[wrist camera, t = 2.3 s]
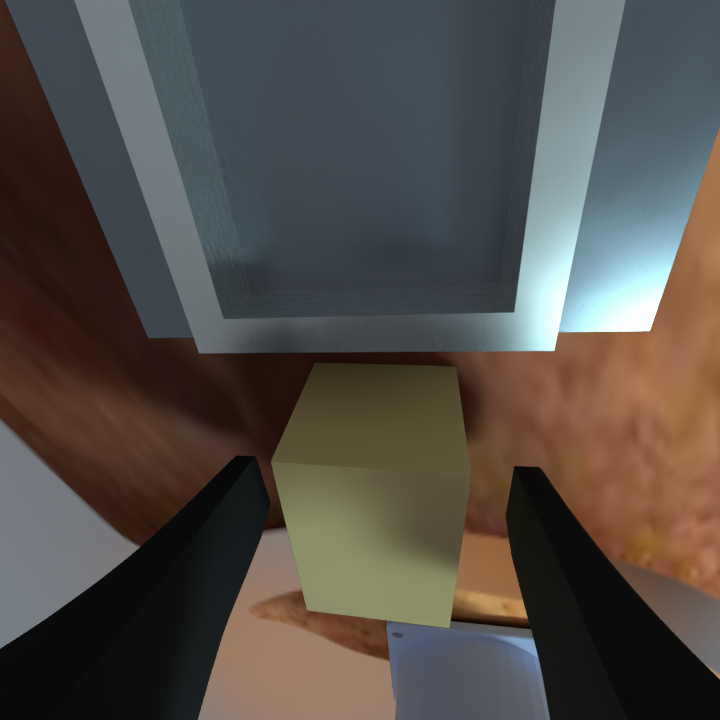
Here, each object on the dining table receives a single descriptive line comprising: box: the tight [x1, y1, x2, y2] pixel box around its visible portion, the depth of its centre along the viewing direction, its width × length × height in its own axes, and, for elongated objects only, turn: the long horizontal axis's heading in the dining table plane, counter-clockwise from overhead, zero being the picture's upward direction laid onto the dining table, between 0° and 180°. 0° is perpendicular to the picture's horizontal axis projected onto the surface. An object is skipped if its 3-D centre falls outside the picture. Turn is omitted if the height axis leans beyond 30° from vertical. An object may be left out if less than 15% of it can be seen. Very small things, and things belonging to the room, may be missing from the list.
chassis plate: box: [5, 0, 720, 353], centre depth 6 cm, size 10×12×2 cm
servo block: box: [271, 362, 471, 628], centre depth 11 cm, size 6×4×4 cm, turn 3°
